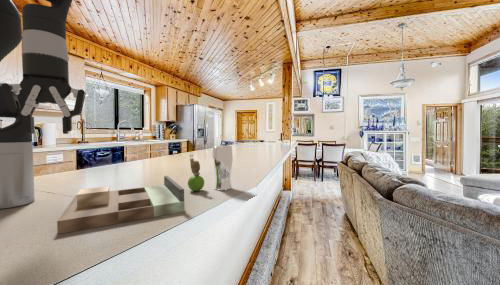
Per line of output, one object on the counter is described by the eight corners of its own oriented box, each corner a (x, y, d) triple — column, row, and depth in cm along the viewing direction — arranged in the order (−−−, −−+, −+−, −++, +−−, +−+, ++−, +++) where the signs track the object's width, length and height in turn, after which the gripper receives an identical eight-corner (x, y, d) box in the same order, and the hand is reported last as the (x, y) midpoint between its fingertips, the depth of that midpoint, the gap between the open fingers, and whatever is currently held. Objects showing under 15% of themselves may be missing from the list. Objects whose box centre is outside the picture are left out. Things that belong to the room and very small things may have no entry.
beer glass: (214, 191, 73) (213, 146, 73) (212, 186, 80) (211, 145, 80) (234, 189, 75) (234, 146, 75) (230, 185, 82) (230, 145, 81)
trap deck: (57, 234, 42) (56, 205, 42) (76, 204, 61) (75, 184, 61) (184, 211, 54) (184, 189, 54) (167, 192, 73) (167, 175, 73)
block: (77, 207, 50) (76, 194, 50) (81, 201, 55) (80, 189, 55) (108, 203, 53) (108, 191, 53) (109, 197, 58) (109, 186, 58)
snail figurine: (198, 187, 79) (198, 154, 79) (207, 191, 74) (206, 155, 74) (184, 190, 75) (183, 155, 75) (192, 193, 71) (191, 156, 70)
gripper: (-10, 44, 42) (-6, 133, 42) (84, 57, 49) (86, 133, 50) (7, 57, 48) (10, 134, 49) (88, 67, 56) (90, 133, 56)
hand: (48, 133), depth 49 cm, fingers open, 5 cm apart
